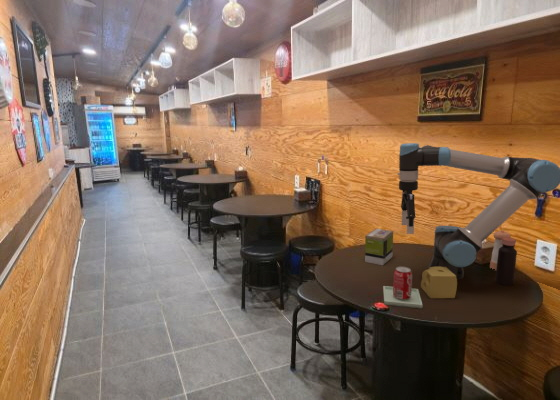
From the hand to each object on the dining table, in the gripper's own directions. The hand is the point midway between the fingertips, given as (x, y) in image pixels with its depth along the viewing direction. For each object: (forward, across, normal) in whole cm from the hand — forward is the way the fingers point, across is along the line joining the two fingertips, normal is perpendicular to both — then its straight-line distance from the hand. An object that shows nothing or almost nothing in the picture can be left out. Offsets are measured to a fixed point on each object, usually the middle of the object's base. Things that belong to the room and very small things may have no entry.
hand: (407, 229), depth 153 cm
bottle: (+26, -6, +42) cm, 50 cm away
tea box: (+25, -28, -9) cm, 39 cm away
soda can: (+24, +16, -4) cm, 29 cm away
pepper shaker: (+26, -23, +47) cm, 58 cm away
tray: (+25, +15, -4) cm, 29 cm away
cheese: (+26, +9, +11) cm, 29 cm away
